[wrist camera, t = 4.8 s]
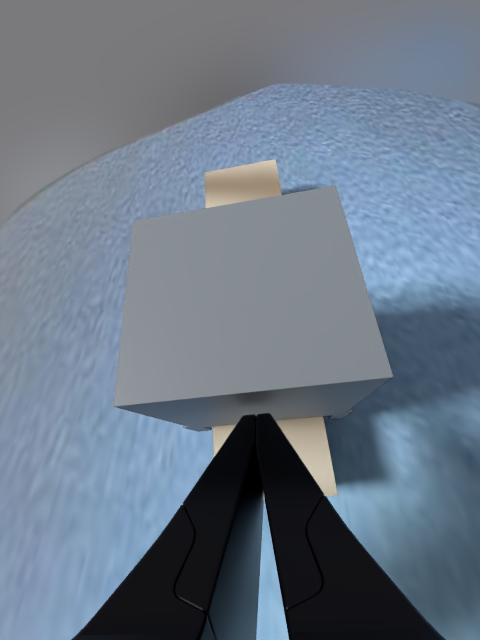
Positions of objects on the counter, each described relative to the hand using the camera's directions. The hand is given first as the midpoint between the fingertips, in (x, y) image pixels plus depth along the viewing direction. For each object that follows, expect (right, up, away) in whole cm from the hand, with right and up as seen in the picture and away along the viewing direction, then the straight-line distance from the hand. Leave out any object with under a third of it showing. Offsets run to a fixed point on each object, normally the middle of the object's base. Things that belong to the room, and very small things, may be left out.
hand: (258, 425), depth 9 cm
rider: (+1, +1, +7) cm, 7 cm away
